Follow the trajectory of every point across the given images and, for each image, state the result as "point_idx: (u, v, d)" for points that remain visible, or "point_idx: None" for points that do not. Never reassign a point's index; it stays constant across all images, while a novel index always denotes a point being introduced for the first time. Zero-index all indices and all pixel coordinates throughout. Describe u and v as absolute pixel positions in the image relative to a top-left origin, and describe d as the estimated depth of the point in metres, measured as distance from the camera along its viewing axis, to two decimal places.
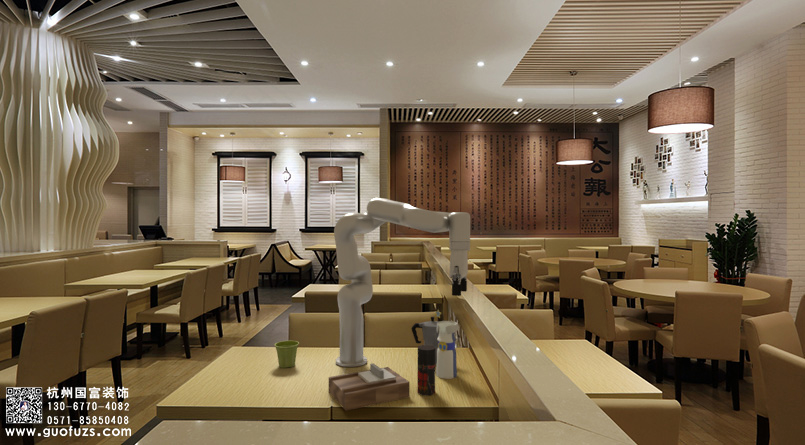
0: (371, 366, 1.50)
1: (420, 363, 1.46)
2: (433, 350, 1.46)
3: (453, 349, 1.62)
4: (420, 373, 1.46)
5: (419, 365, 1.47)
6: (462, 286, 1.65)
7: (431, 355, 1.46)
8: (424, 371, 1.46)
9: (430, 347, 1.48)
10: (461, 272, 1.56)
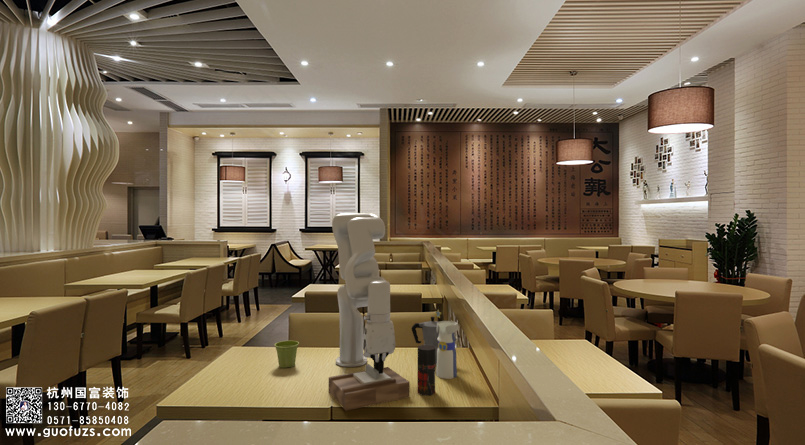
0: (366, 367, 1.49)
1: (420, 363, 1.46)
2: (433, 350, 1.46)
3: (453, 349, 1.62)
4: (420, 373, 1.46)
5: (419, 365, 1.47)
6: None
7: (431, 355, 1.46)
8: (424, 371, 1.46)
9: (430, 347, 1.48)
10: None
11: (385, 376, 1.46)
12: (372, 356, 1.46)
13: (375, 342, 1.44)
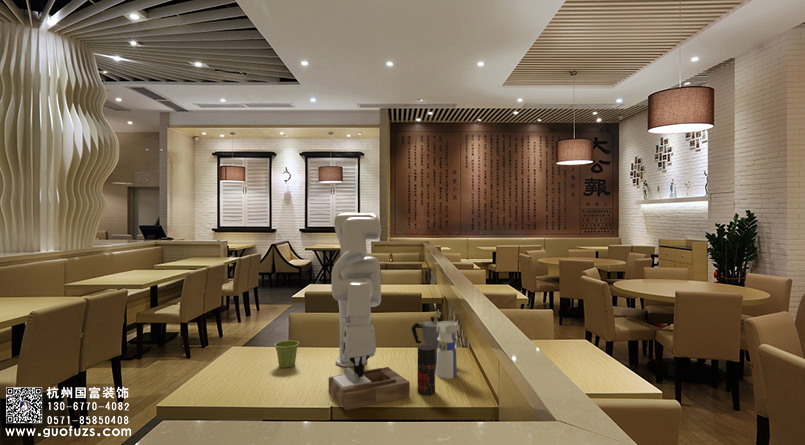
0: (346, 370, 1.46)
1: (420, 363, 1.46)
2: (433, 350, 1.46)
3: (453, 349, 1.62)
4: (420, 373, 1.46)
5: (419, 365, 1.47)
6: None
7: (431, 355, 1.46)
8: (424, 371, 1.46)
9: (430, 347, 1.48)
10: None
11: (365, 380, 1.43)
12: (352, 359, 1.42)
13: (354, 345, 1.41)
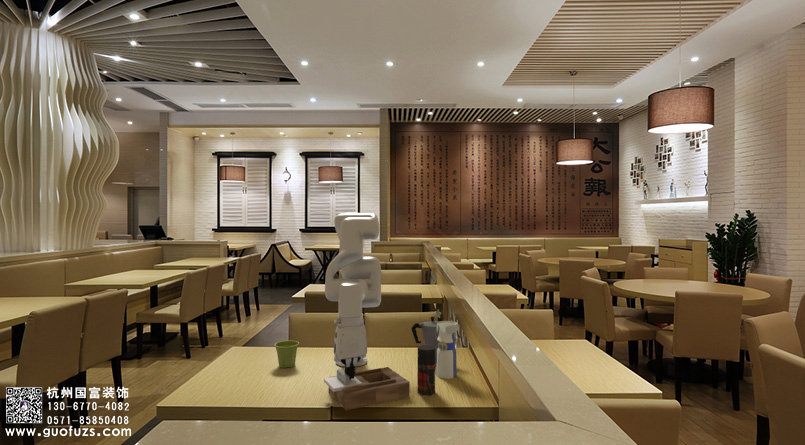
0: (337, 372, 1.44)
1: (420, 363, 1.46)
2: (433, 350, 1.46)
3: (453, 349, 1.62)
4: (420, 373, 1.46)
5: (419, 365, 1.47)
6: None
7: (431, 355, 1.46)
8: (424, 371, 1.46)
9: (430, 347, 1.48)
10: None
11: (356, 381, 1.41)
12: (343, 361, 1.41)
13: (345, 346, 1.39)
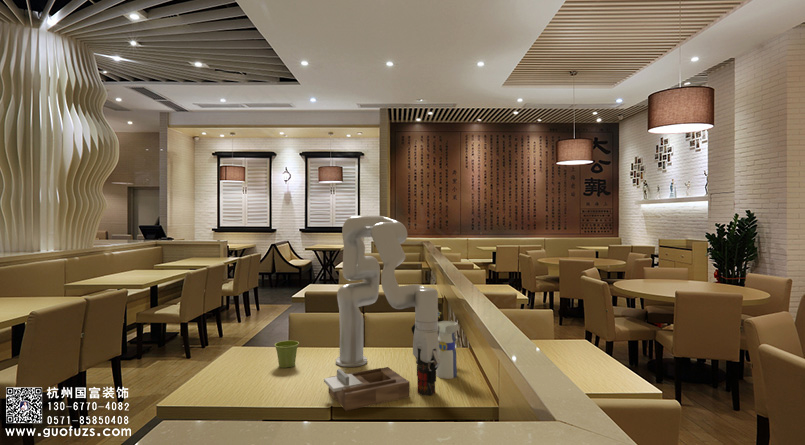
0: (337, 372, 1.44)
1: (420, 363, 1.46)
2: None
3: (453, 349, 1.62)
4: (420, 373, 1.46)
5: (419, 365, 1.47)
6: None
7: None
8: (424, 370, 1.46)
9: None
10: (438, 354, 1.45)
11: (356, 381, 1.41)
12: None
13: (415, 345, 1.49)
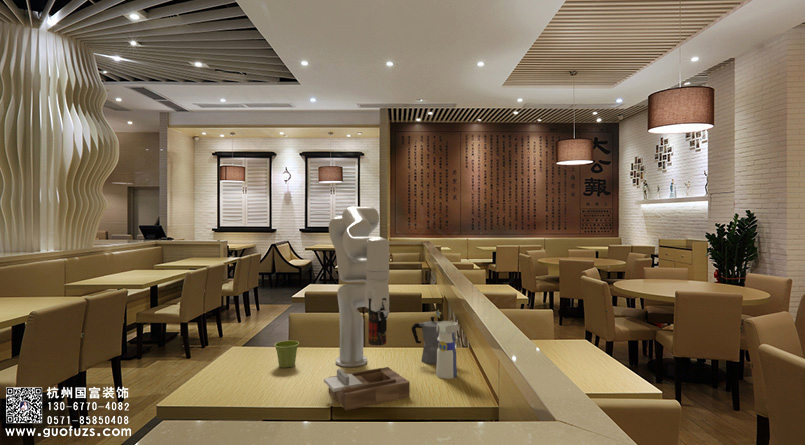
0: (337, 372, 1.44)
1: (370, 313, 1.45)
2: None
3: (453, 349, 1.62)
4: (370, 323, 1.45)
5: (370, 315, 1.46)
6: None
7: None
8: (374, 320, 1.45)
9: None
10: (388, 304, 1.44)
11: (356, 381, 1.41)
12: (368, 308, 1.52)
13: (366, 296, 1.48)
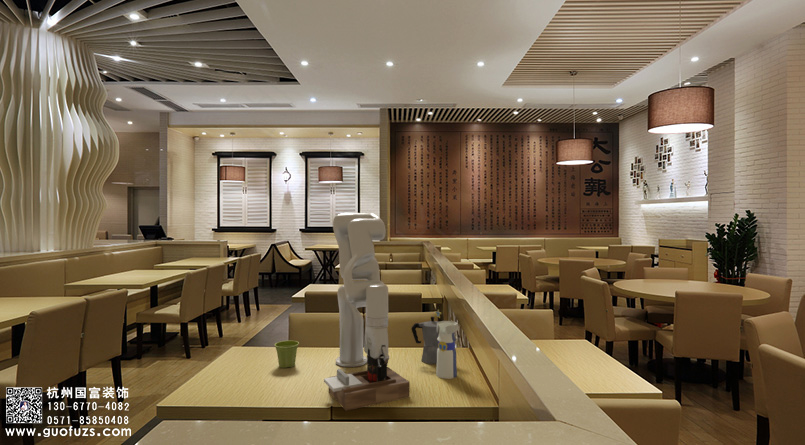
0: (337, 372, 1.44)
1: (369, 364, 1.46)
2: None
3: (453, 349, 1.62)
4: (369, 374, 1.46)
5: (369, 366, 1.46)
6: None
7: (380, 355, 1.45)
8: (373, 371, 1.45)
9: None
10: (387, 351, 1.44)
11: (356, 381, 1.41)
12: None
13: (366, 342, 1.48)
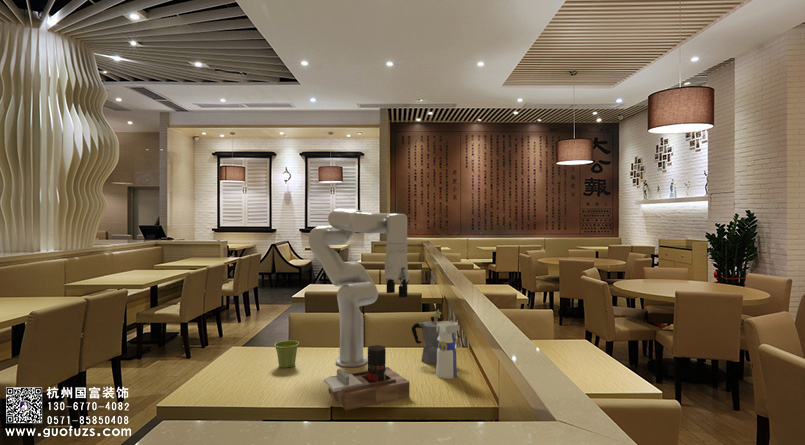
0: (337, 372, 1.44)
1: (369, 364, 1.46)
2: (383, 350, 1.46)
3: (453, 349, 1.62)
4: (369, 374, 1.46)
5: (369, 366, 1.46)
6: (391, 288, 1.65)
7: (380, 355, 1.45)
8: (373, 371, 1.45)
9: (380, 348, 1.47)
10: None
11: (356, 381, 1.41)
12: None
13: (386, 267, 1.62)
